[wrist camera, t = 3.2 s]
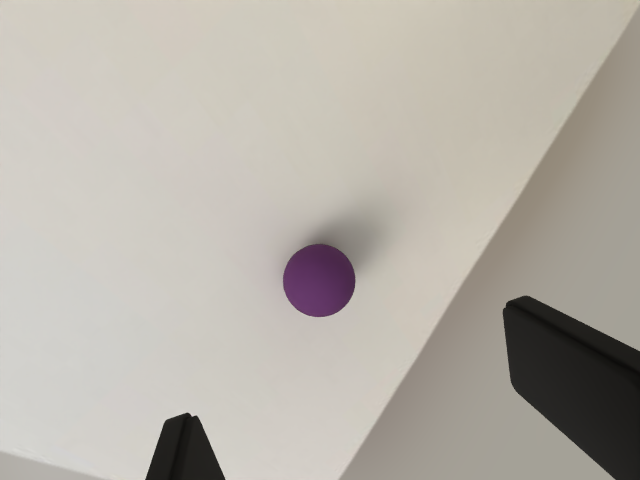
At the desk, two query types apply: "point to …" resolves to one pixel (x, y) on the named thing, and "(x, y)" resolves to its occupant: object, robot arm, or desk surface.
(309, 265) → the ball
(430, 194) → the desk surface
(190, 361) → the desk surface
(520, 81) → the desk surface
